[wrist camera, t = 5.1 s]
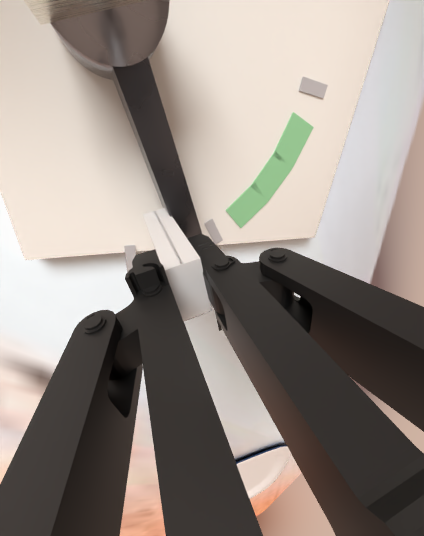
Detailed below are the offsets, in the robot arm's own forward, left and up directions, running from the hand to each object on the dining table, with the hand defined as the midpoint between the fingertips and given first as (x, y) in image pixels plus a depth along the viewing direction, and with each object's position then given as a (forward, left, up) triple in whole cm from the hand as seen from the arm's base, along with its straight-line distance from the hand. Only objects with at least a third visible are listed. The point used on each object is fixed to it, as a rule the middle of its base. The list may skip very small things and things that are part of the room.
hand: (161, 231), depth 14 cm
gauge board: (-6, +3, -3) cm, 8 cm away
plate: (+61, +15, -4) cm, 63 cm away
